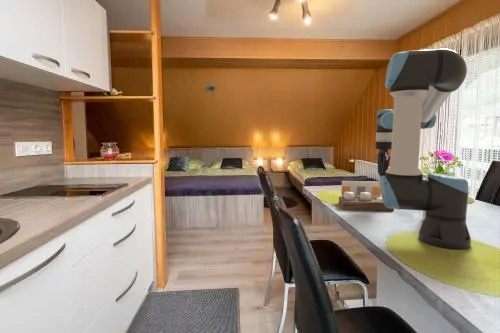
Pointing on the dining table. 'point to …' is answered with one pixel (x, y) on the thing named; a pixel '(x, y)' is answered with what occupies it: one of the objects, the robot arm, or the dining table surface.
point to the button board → (363, 204)
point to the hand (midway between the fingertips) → (381, 188)
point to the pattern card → (361, 188)
